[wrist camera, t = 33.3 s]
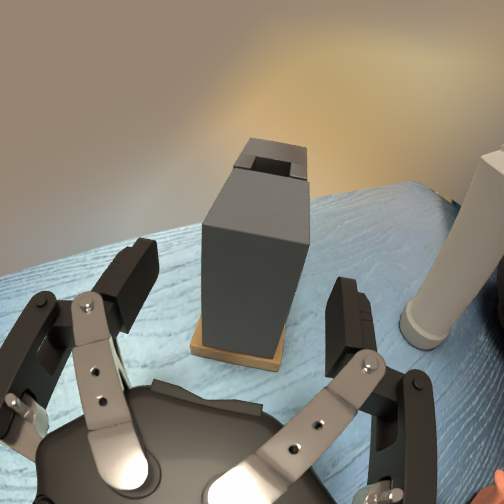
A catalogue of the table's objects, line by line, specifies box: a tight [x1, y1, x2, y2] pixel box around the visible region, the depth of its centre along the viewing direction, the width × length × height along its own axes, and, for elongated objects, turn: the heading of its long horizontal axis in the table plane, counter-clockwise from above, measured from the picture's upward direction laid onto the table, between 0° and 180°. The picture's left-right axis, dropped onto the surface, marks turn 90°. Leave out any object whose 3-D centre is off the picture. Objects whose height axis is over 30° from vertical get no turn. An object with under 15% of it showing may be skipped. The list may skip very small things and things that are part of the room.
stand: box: [190, 138, 307, 372], centre depth 23 cm, size 6×15×11 cm, turn 171°
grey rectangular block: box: [201, 168, 310, 359], centre depth 20 cm, size 5×9×10 cm, turn 171°
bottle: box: [400, 144, 504, 350], centre depth 16 cm, size 5×5×25 cm
